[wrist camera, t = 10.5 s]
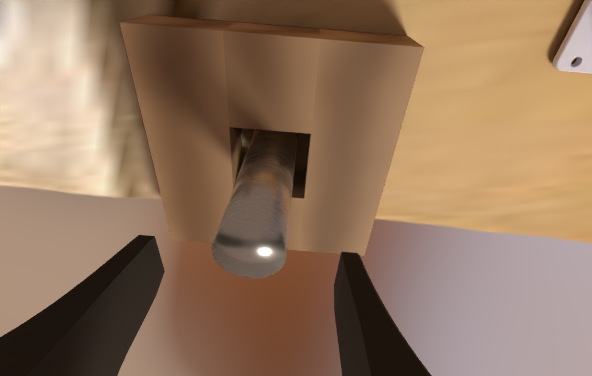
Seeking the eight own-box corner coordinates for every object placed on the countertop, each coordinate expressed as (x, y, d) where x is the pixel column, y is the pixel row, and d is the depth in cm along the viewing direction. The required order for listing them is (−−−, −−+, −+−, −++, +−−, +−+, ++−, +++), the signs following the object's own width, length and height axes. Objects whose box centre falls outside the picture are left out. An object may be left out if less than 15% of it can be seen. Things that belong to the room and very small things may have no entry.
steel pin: (298, 122, 20) (288, 230, 11) (295, 162, 21) (283, 281, 13) (252, 118, 20) (208, 223, 11) (252, 159, 21) (214, 275, 13)
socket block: (407, 35, 16) (424, 47, 14) (359, 227, 25) (364, 255, 22) (148, 14, 16) (119, 22, 14) (185, 213, 25) (171, 239, 22)
